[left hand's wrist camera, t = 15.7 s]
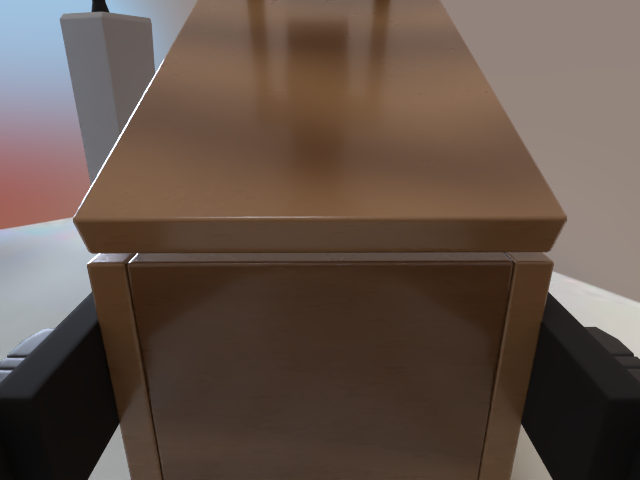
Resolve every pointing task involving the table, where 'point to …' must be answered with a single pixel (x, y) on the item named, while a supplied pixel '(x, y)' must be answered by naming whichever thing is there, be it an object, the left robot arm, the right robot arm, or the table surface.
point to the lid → (319, 140)
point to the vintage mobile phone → (106, 74)
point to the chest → (320, 362)
